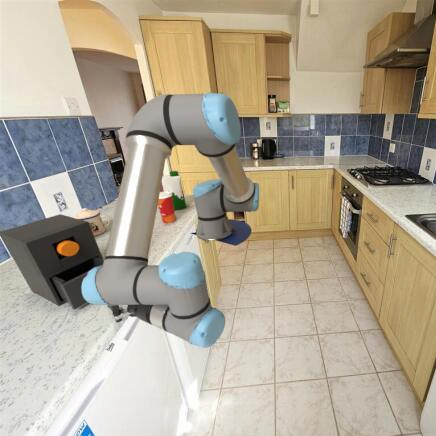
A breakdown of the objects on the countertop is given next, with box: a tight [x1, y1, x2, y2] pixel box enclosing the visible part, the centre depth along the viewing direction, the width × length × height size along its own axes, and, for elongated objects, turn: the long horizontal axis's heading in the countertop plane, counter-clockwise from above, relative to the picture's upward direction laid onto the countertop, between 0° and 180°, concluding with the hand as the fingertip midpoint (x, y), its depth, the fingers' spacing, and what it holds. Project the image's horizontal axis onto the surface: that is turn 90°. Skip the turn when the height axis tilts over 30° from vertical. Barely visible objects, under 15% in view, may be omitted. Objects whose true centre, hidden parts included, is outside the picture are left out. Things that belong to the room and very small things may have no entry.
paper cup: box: [157, 191, 176, 224], centre depth 116 cm, size 8×8×14 cm
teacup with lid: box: [72, 207, 111, 237], centre depth 106 cm, size 12×9×12 cm
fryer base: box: [16, 251, 104, 307], centre depth 73 cm, size 16×14×10 cm
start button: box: [56, 240, 79, 256], centre depth 66 cm, size 2×4×4 cm, turn 155°
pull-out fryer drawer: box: [49, 257, 104, 311], centre depth 69 cm, size 16×12×8 cm
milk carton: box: [161, 170, 187, 212], centre depth 131 cm, size 9×9×20 cm
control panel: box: [0, 213, 101, 277], centre depth 69 cm, size 15×14×10 cm
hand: (101, 283), depth 65 cm, fingers closed
